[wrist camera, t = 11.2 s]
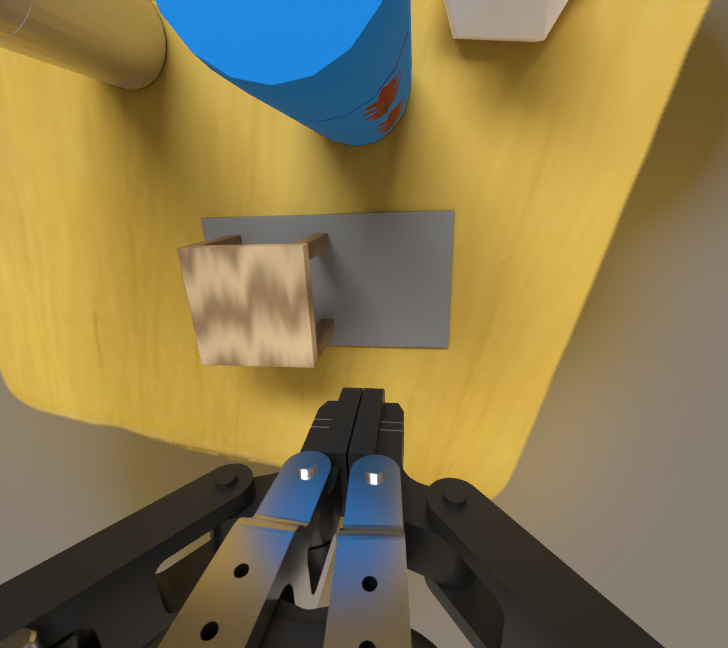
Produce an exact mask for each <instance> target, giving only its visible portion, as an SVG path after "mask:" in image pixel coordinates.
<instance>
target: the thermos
mask: <svg viewBox="0 0 728 648" xmlns="http://www.w3.org/2000/svg"><path fill="white" fill-rule="evenodd" d="M155 1H156V3H157V5H158V8H159V10H160V12H161V14H162V15H163V16H164V18H165V19H166V20H167V21H168V23H169V24H170V25H171V26H172V28H173V29H174V30H175V31H176V33H177V34H178V35H179V36H180V38H181V39H182V40H183V41H184V43H185V44H186V45H187V46H188V48H189V49H190V50H191V51H192V53H194V54H195V55H196V56H197V57H198V58H199V59H200V60H201V61H202V62H203V63H205V64H206V65H207V66H208V67H209V68H210V69H211V70H213V71H214V72H216V73H217V74H219V75H220V76H222V77H223V78H225V79H227V80H228V81H230V82H231V83H233V84H234V85H236V86H237V87H239V88H240V89H242V90H244V91H245V92H247V93H248V94H250V95H252V96H254V97H256V98H257V99H259V100H261V101H263V102H264V103H266V104H268V105H270V106H271V107H273V108H275V109H277V110H279V111H280V112H282V113H284V114H286V115H287V116H289V117H291V118H293V119H295V120H296V121H298V122H300V123H302V124H303V125H305V126H307V127H309V128H311V129H312V130H314V131H316V132H318V133H319V134H321V135H323V136H325V137H326V138H328V139H330V140H332V141H335V142H339V143H344V144H349V145H354V146H361V145H366V144H371V143H375V142H376V141H378V140H379V139H381V138H383V137H384V136H386V135H387V134H389V133H390V132H391V131H392V129H393V128H394V127H395V125H396V124H397V123H398V122H399V120H400V119H401V118H402V115H403V112H404V110H405V107H406V104H407V101H408V99H409V94H410V86H411V67H412V58H411V4H410V0H155Z"/></svg>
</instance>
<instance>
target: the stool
mask: <svg viewBox="0 0 728 648" xmlns="http://www.w3.org/2000/svg"><path fill="white" fill-rule="evenodd" d="M326 248H328V233H313V234H311V235H309V236H307V237H305V238H302V239H300V240H298V241H296V242H294V243H292V244H254V245H242V239H241V235H227V236H223V237H219V238H216V239H212V240H208V241H204V242H200V243H196V244H192V245H189V246H185V247H181V248H177V249H178V254H179V259H180V263H181V268H182V273H183V278H184V282H185V287H186V292H187V297H188V301H189V306H190V311H191V316H192V320H193V325H194V330H195V335H196V339H197V344H198V349H199V354H200V358H201V363H202V365H229V366H269V367H308V368H314V367H315V365H316V363H317V362H318V360H319V358H320V356H321V354H322V352H323V351H324V349H325V347H326V345H327V343H328V342H329V340H330V338H331V336H332V334H333V333H334V319H320V321H319V322H318V324H317V325H316V327H315V321H314V310H313V298H312V287H311V276H310V264H309V260H311V259H312V258H314V257H315V256H317V255H318V254H319V253H321V252H322V251H324V250H325V249H326Z"/></svg>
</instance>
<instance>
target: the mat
mask: <svg viewBox="0 0 728 648" xmlns="http://www.w3.org/2000/svg"><path fill="white" fill-rule="evenodd" d="M201 220H202V226H203V231H204V237H205V241H208V240H212V239H216V238H219V237H223V236H227V235H241V239H242V245H254V244H292V243H294V242H296V241H298V240H300V239H302V238H305V237H307V236H309V235H311V234H313V233H328V248H326V249H325V250H324V251H322V252H321V253H319V254H318V255H317V256H315V257H314V258H312V259H311V260H309V264H310V276H311V287H312V298H313V310H314V321H315V327H316V325H317V324H318V322H319V321H320V319H334V333H333V334H332V336H331V338H330V340H329V342H328V343H327V345H326V346H376V347H434V348H448V337H449V315H450V293H451V272H452V250H453V228H454V210H453V211H420V212H387V213H355V214H322V215H289V216H256V217H224V218H201Z"/></svg>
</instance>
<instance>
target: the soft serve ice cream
mask: <svg viewBox="0 0 728 648" xmlns="http://www.w3.org/2000/svg"><path fill="white" fill-rule="evenodd" d="M443 1H444V5H445V9H446V13H447V17H448V21H449V25H450V29H451V33H452V37H453V39H473V40H497V41H521V42H538V41H542V40H545V38H546V37H547V35H548V33H549V32H550V30H551V28H552V27H553V25H554V23H555V22H556V20H557V18H558V17H559V15H560V13H561V12H562V10H563V8H564V7H565V5H566V3H567V2H568V0H443Z"/></svg>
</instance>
